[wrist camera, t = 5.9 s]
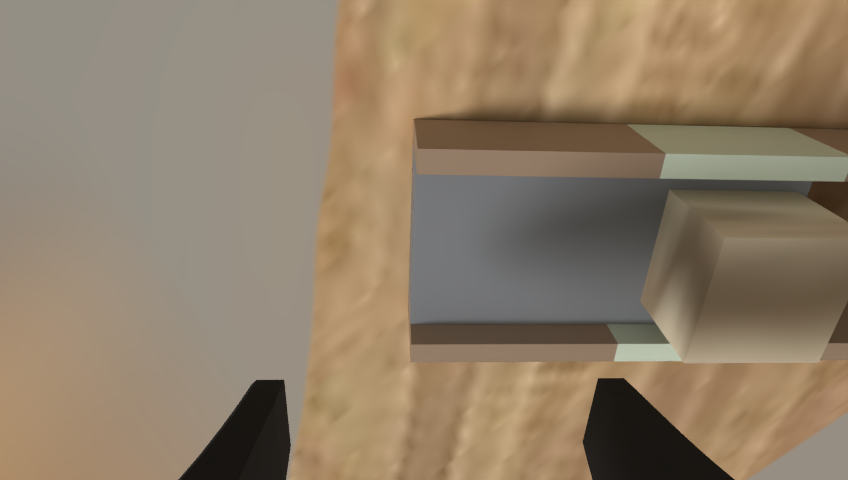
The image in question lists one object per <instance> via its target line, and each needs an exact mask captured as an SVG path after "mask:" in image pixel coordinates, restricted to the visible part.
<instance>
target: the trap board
mask: <svg viewBox="0 0 848 480" xmlns="http://www.w3.org/2000/svg"><path fill="white" fill-rule="evenodd" d="M813 181H836V182H848V129H813V128H770V127H727V126H684V125H641V124H599V123H556V122H513V121H470V120H427V119H414V135H413V168H412V202H411V235H410V269H409V302H408V317H409V338H410V359H411V362H572V361H682V360H681V358H680V357H679V355H678V354H677V353H676V351H675V350H674V348H673V347H672V346H671V344H670V343H669V341H668V340H667V339H666V337H665V336H664V334H663V333H662V331H661V330H660V329H659V327H658V326H657V324H656V323H655V322H654V320H653V319H652V317H651V316H650V315H649V313H648V312H647V310H646V309H645V307H644V306H643V305H642V303H641V302H640V300H641V296H642V292H643V288H644V285H645V281H646V277H647V273H648V269H649V266H650V262H651V258H652V254H653V250H654V247H655V243H656V239H657V235H658V231H659V227H660V224H661V220H662V216H663V212H664V208H665V205H666V201H667V197H668V193H669V190H723V191H787V192H799V193H800V194H802V195H804V196H805V197H807V196H808V193H809V191H810V188H811V186H812V183H813ZM820 360H848V302H847V304H846V306H845V308H844V310H843V312H842V314H841V316H840V319H839V321H838V323H837V325H836V327H835V329H834V331H833V333H832V335H831V338H830V340H829V342H828V344H827V346H826V348H825V350H824V352H823V355H822V357H821V359H820Z"/></svg>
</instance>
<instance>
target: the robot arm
mask: <svg viewBox="0 0 848 480" xmlns="http://www.w3.org/2000/svg"><path fill="white" fill-rule="evenodd" d="M583 445H584V449H585V453H586V457H587V461H588V465H589V468H590V472H591V475H592V479H593V480H734V479H733V478H732V477H731V476H730V475H728V474H727V473H726V472H725V471H724V470H722V469H721V468H720V467H719V466H718V465H716V464H715V463H714V462H713V461H712V460H711V459H709V458H708V457H707V456H706V455H705V454H704V453H703V452H701V451H700V450H699V449H698V448H697V447H696V446H695V445H694V444H693V443H691V442H690V441H689V440H688V439H687V438H686V437H685V436H684V435H683V434H682V433H681V432H680V431H678V430H677V429H676V428H675V427H674V426H673V425H672V424H671V423H670V422H669V421H668V420H667V419H666V418H665V417H664V416H663V415H662V414H661V413H660V412H658V411H657V410H656V409H655V408H654V407H653V406H652V405H651V404H650V403H649V402H648V401H647V400H646V399H645V398H644V397H643V396H642V395H641V394H640V393H639V392H638V391H637V390H636V389H635V388H634V387H633V386H631V385H630V384H629V383H628V382H627V381H626V380H625V379H624V378H598V381H597V385H596V389H595V394H594V398H593V402H592V406H591V410H590V414H589V418H588V423H587V427H586V431H585V435H584V439H583ZM290 446H291V444H290V434H289V424H288V414H287V404H286V395H285V384H284V380H256V381H255V382H254V383H253V384H252V385H251V386H250V388H249V389H248V391H247V392H246V394H245V395H244V397H243V398H242V400H241V401H240V402H239V404H238V405H237V407H236V408H235V410H234V411H233V412H232V414H231V415H230V416H229V418H228V419H227V421H226V422H225V423H224V425H223V426H222V427H221V429H220V430H219V431H218V432H217V434H216V435H215V436H214V438H213V439H212V440H211V441H210V443H209V444H208V445H207V447H206V448H205V449H204V450H203V452H202V453H201V454H200V455H199V457H198V458H197V459H196V460H195V461H194V462H193V464H192V465H191V466H190V467H189V468H188V469H187V471H186V472H185V473H184V474H183V475H182V476H181V477H180V479H179V480H286V475H287V468H288V461H289V454H290Z"/></svg>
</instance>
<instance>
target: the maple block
mask: <svg viewBox="0 0 848 480" xmlns="http://www.w3.org/2000/svg"><path fill="white" fill-rule="evenodd" d="M640 302H641V303H642V305H643V306H644V307H645V309H646V310H647V312H648V313H649V315H650V316H651V317H652V319H653V320H654V322H655V323H656V324H657V326H658V327H659V329H660V330H661V331H662V333H663V334H664V336H665V337H666V339H667V340H668V341H669V343H670V344H671V346H672V347H673V348H674V350H675V351H676V353H677V354H678V355H679V357H680V358H681V360H682V361H683V363H819V361H820V359H821V357H822V355H823V352H824V350H825V348H826V346H827V344H828V342H829V340H830V338H831V335H832V333H833V331H834V329H835V327H836V325H837V323H838V321H839V319H840V316H841V314H842V312H843V310H844V308H845V306H846V304H847V302H848V222H847V221H846V220H844V219H842V218H841V217H839V216H837V215H836V214H834V213H832V212H831V211H829V210H827V209H826V208H824V207H822V206H820V205H819V204H817V203H815V202H814V201H812V200H810V199H809V198H807V197H805V196H804V195H802V194H800V193H799V192H787V191H723V190H669V193H668V197H667V201H666V205H665V208H664V212H663V216H662V220H661V224H660V227H659V231H658V235H657V239H656V243H655V247H654V250H653V254H652V258H651V262H650V266H649V269H648V273H647V277H646V281H645V285H644V288H643V292H642V296H641V300H640Z"/></svg>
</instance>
